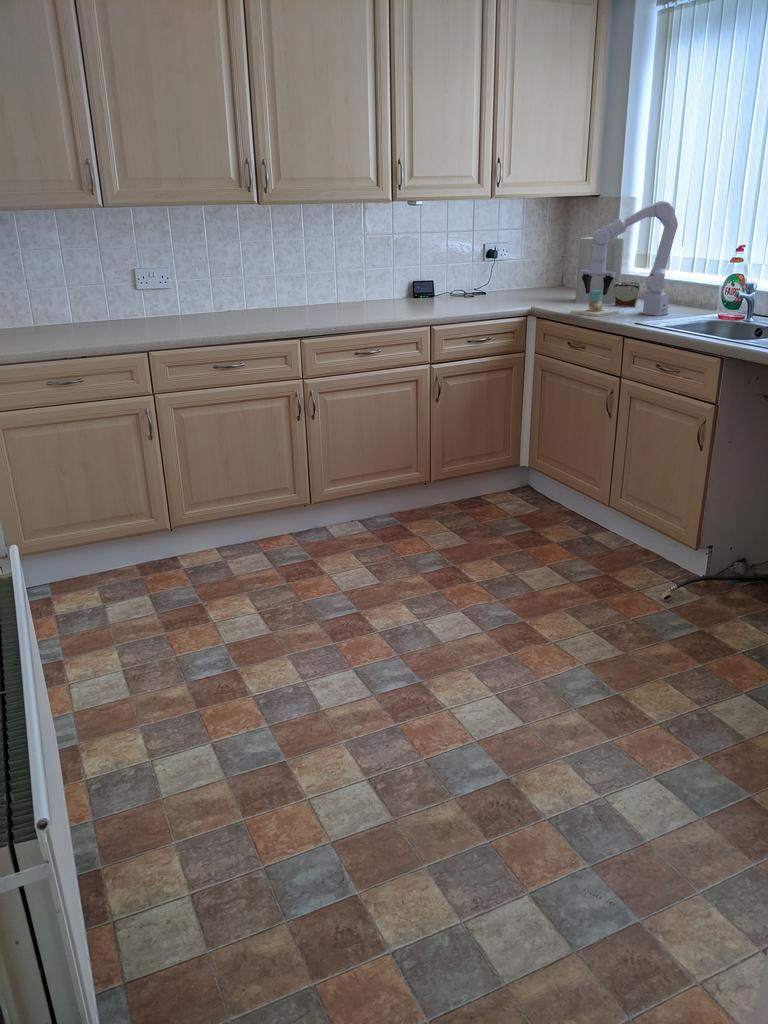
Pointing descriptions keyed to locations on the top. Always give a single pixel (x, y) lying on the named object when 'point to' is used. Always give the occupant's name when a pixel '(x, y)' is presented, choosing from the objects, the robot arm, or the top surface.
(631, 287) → the food container
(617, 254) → the tall grey pillar
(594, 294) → the teal brick
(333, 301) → the top surface
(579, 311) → the baseplate
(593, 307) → the birch brick
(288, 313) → the top surface
